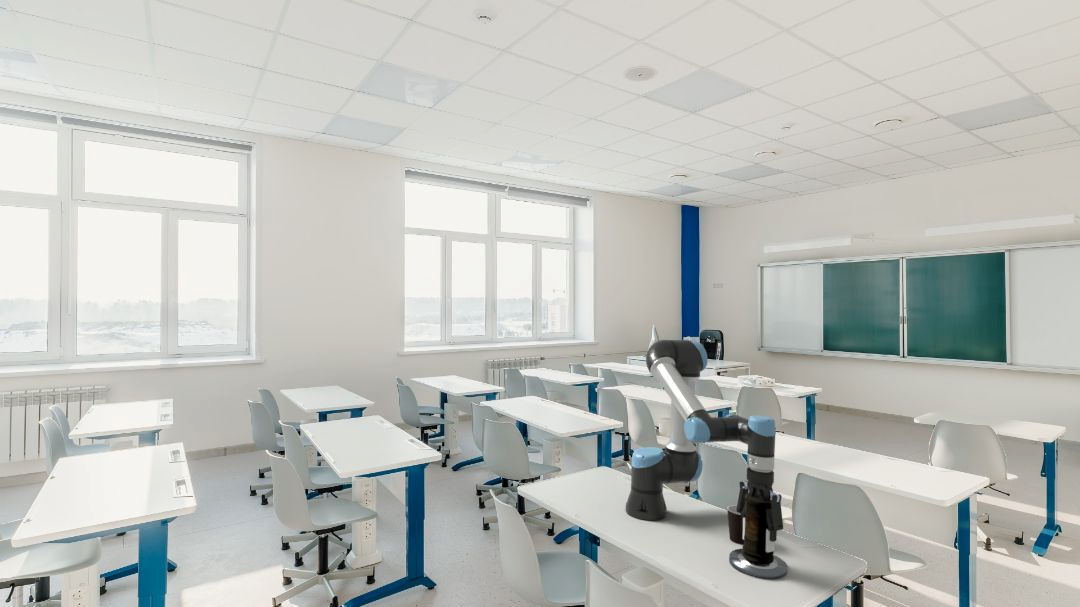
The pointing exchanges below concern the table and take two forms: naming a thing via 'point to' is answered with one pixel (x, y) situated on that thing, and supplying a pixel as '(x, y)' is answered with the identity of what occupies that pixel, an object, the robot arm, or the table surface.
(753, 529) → the container
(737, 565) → the dark gray plate
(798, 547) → the table surface
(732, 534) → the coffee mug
